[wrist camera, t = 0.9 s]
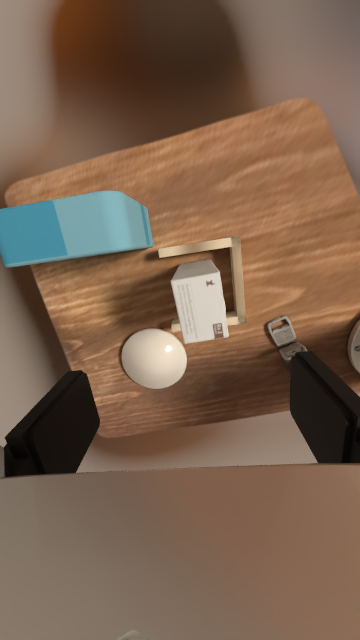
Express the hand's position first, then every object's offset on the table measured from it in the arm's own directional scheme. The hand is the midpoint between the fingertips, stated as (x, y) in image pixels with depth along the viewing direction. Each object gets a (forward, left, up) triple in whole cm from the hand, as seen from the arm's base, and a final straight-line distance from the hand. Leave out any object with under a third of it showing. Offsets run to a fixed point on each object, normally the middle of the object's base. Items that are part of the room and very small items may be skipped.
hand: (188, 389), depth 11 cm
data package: (+10, -9, -22) cm, 26 cm away
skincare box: (-1, -1, -22) cm, 22 cm away
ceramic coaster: (+7, +9, -22) cm, 25 cm away
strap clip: (-12, +9, -23) cm, 27 cm away
